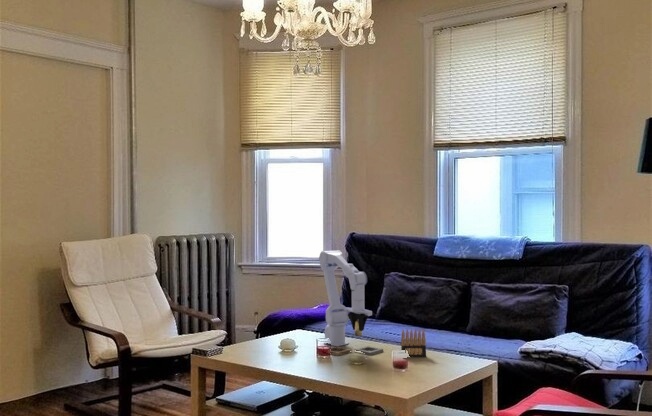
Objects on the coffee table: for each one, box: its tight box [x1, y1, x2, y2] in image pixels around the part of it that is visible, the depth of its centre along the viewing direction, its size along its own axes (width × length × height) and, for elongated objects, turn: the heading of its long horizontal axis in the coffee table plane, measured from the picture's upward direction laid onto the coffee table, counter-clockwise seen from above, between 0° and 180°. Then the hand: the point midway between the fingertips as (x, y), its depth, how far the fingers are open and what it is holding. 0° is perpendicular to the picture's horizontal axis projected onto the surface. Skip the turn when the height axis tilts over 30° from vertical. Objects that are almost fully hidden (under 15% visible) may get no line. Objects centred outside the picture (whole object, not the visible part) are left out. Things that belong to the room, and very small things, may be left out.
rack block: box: [330, 346, 352, 357], centre depth 291 cm, size 9×9×1 cm
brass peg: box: [354, 320, 363, 337], centre depth 291 cm, size 3×3×6 cm
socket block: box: [354, 345, 384, 356], centre depth 291 cm, size 9×9×1 cm
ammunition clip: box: [400, 328, 427, 358], centre depth 282 cm, size 11×2×12 cm, turn 91°
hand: (358, 330), depth 291 cm, fingers closed on brass peg, 3 cm apart
